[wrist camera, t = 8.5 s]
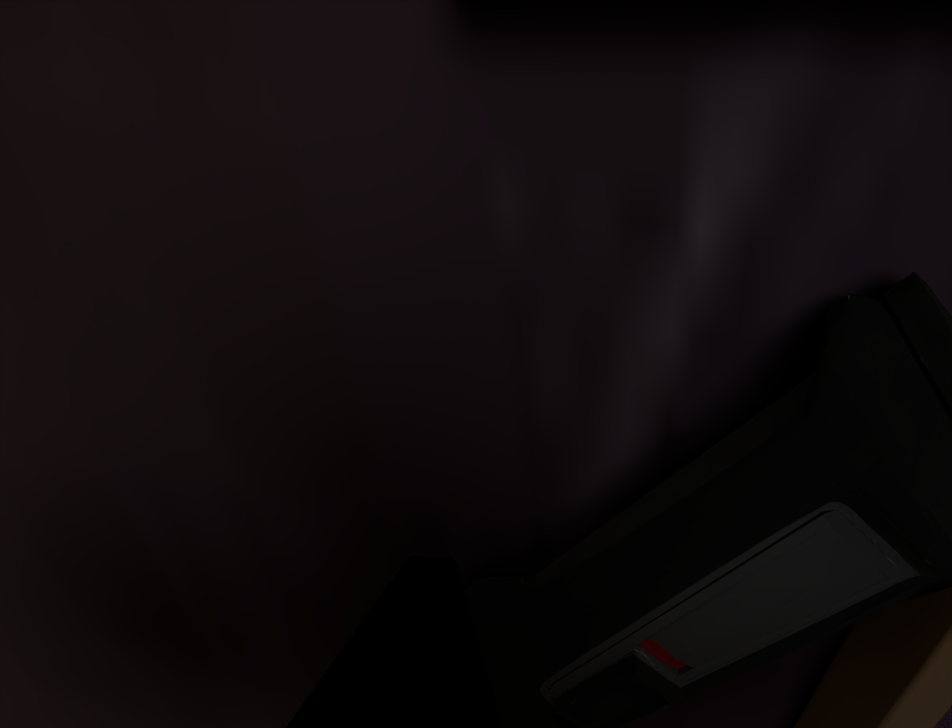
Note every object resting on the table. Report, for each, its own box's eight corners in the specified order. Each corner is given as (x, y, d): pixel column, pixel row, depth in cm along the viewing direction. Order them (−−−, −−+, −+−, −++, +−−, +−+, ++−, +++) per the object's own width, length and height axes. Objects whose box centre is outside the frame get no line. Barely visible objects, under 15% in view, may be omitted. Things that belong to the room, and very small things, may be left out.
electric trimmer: (305, 670, 13) (247, 828, 10) (880, 240, 7) (1150, 334, 4) (415, 726, 14) (390, 884, 11) (1001, 398, 8) (1283, 564, 5)
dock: (463, 754, 14) (458, 822, 12) (450, -97, 5) (431, -169, 4) (799, 779, 13) (832, 853, 12) (1383, -112, 5) (1717, -201, 3)
